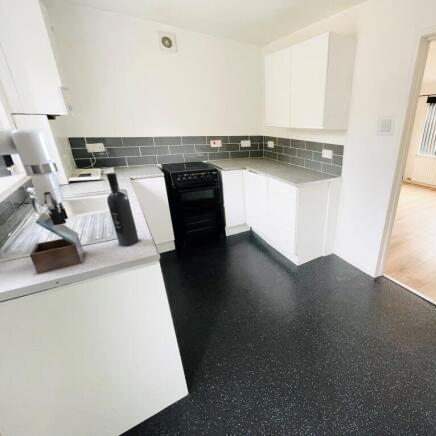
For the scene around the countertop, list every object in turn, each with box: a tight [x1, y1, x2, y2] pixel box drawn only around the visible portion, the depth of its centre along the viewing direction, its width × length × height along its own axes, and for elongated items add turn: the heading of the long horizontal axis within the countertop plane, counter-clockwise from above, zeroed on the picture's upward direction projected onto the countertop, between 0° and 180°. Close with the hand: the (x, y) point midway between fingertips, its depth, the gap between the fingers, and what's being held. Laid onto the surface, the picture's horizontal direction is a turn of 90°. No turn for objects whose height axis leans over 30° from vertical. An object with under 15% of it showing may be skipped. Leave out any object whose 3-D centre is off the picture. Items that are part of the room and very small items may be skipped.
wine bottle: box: [105, 172, 140, 247], centre depth 98 cm, size 6×6×30 cm
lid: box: [34, 212, 79, 245], centre depth 86 cm, size 12×11×5 cm
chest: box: [29, 236, 85, 275], centre depth 88 cm, size 12×11×8 cm
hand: (61, 221), depth 86 cm, fingers closed on lid, 5 cm apart
